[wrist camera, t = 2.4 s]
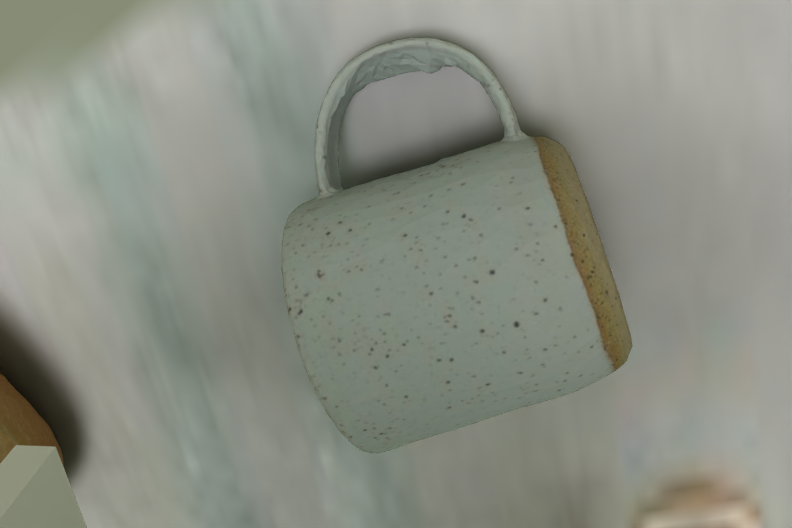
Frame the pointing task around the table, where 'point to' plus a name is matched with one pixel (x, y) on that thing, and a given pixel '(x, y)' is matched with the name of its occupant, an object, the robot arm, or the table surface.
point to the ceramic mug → (446, 274)
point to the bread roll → (21, 423)
